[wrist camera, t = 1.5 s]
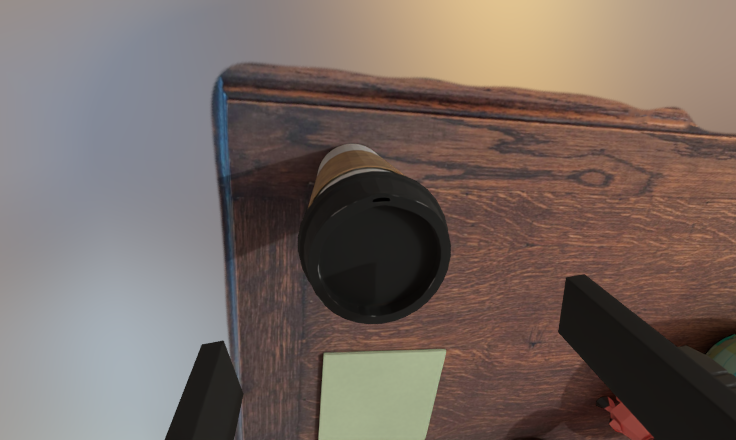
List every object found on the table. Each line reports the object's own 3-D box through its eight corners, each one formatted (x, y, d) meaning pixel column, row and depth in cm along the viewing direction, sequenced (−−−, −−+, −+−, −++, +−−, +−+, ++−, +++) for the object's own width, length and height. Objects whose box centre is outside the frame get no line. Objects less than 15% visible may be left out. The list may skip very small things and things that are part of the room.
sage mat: (323, 352, 39) (323, 355, 39) (445, 348, 41) (446, 351, 41) (316, 468, 47) (316, 471, 47) (418, 459, 49) (419, 462, 49)
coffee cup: (399, 125, 30) (471, 180, 16) (398, 217, 33) (457, 325, 20) (297, 130, 29) (285, 194, 15) (307, 224, 32) (305, 344, 19)
